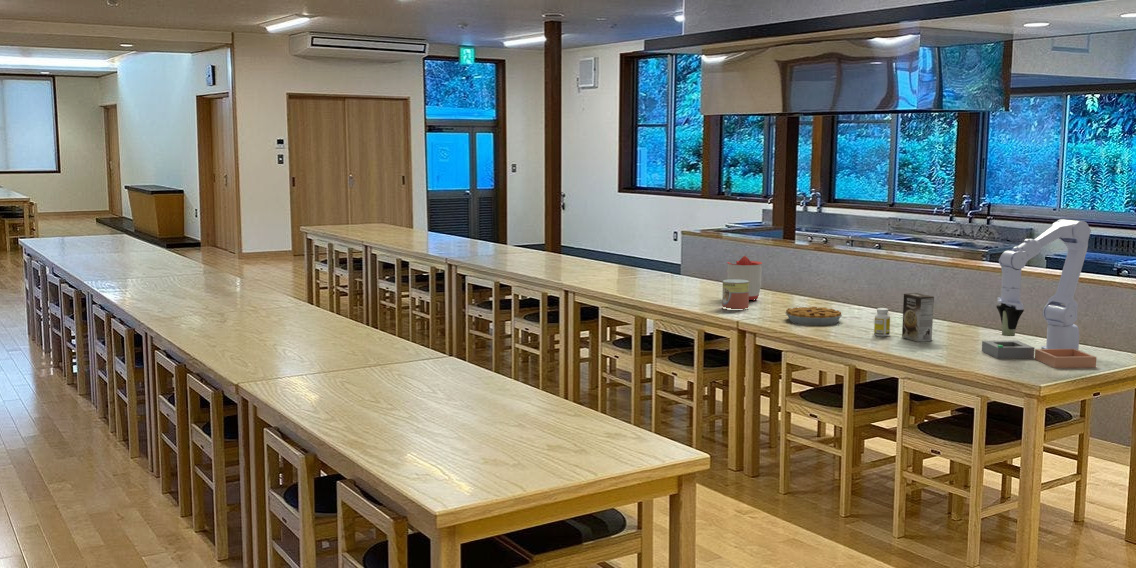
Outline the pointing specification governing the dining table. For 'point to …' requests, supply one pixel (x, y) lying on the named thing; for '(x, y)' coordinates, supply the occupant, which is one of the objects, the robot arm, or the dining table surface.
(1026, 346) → the frame
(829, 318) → the pie
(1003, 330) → the olive cell
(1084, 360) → the tray
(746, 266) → the citrus juicer
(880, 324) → the supplement bottle
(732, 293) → the canned food
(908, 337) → the coffee box
